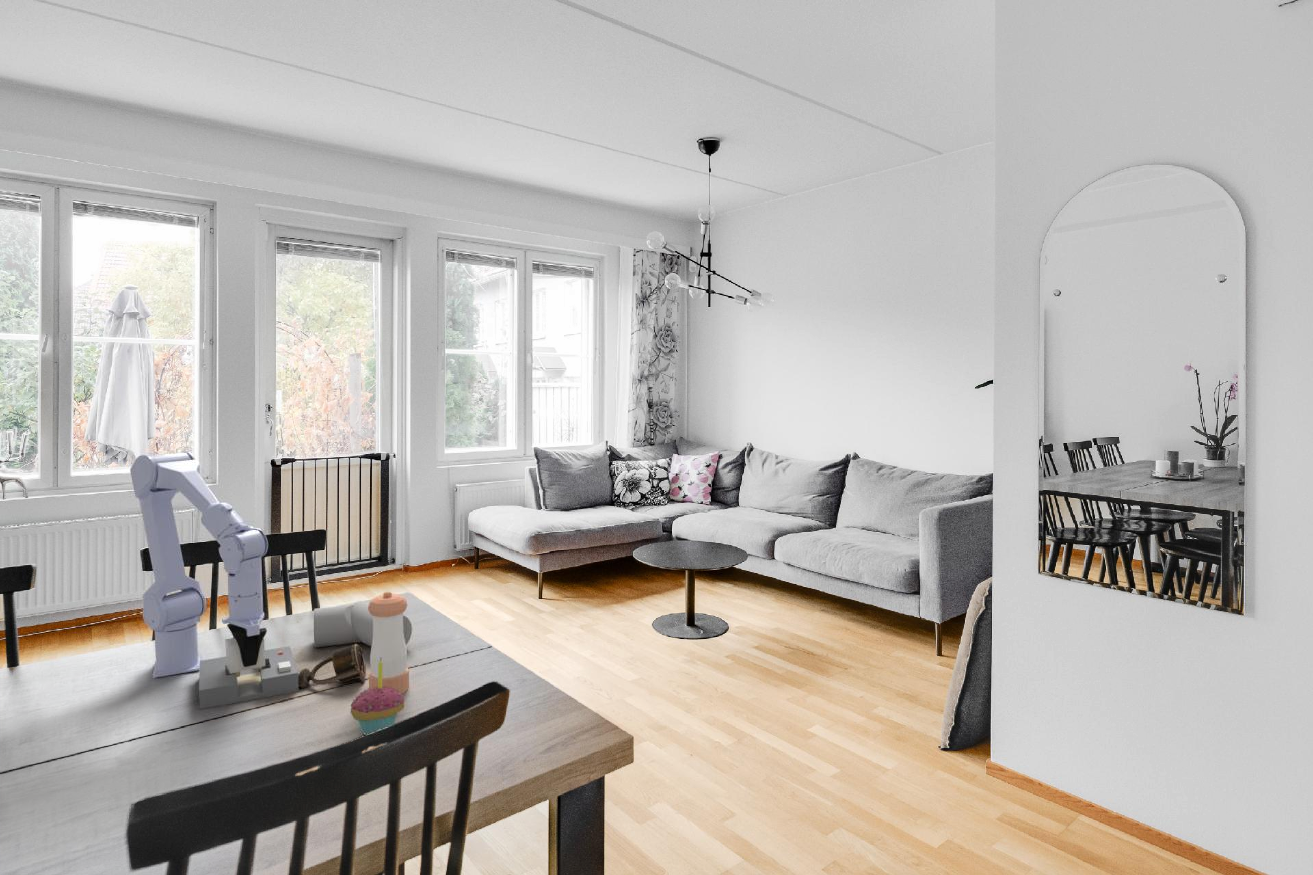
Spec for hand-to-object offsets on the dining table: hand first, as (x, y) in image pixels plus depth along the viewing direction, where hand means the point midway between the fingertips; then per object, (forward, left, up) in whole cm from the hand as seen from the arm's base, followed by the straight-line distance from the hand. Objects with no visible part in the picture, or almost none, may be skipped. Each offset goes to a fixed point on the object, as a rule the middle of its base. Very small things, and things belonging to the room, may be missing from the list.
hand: (247, 661), depth 142 cm
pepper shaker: (+16, +23, -5) cm, 28 cm away
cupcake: (+32, +18, -5) cm, 37 cm away
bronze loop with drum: (+6, +15, -5) cm, 17 cm away
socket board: (0, 0, -4) cm, 4 cm away
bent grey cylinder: (-11, +23, -5) cm, 26 cm away
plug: (0, 0, -2) cm, 2 cm away
